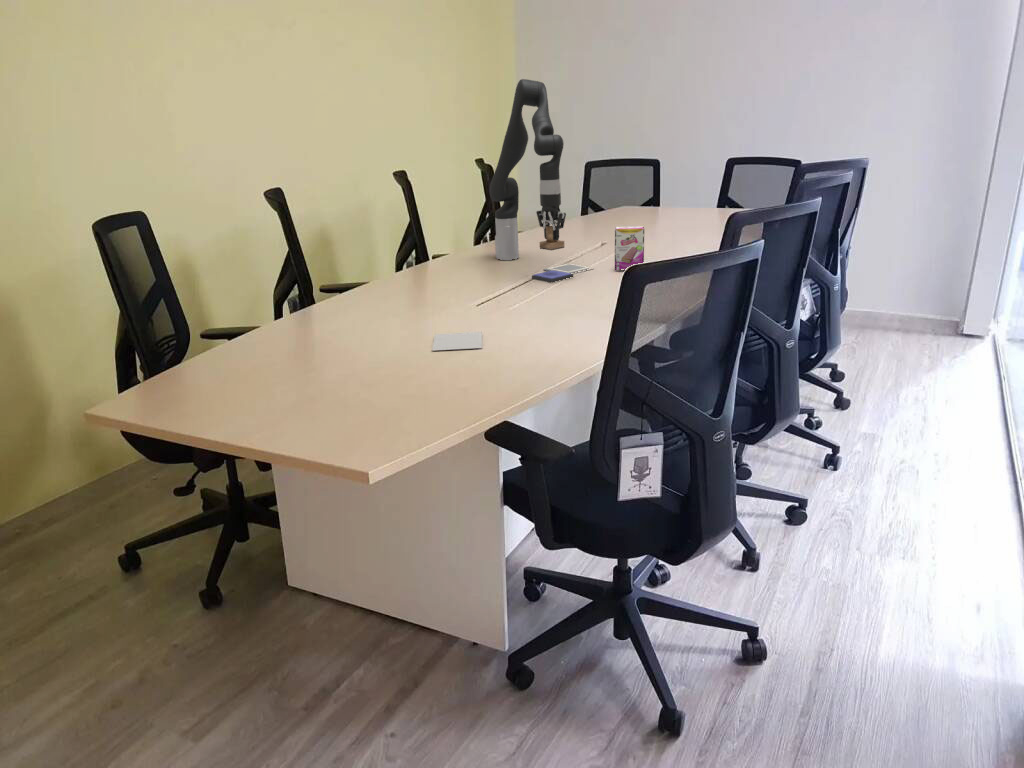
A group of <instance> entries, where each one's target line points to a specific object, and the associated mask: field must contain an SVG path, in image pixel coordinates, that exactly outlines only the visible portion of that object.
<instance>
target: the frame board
mask: <svg viewBox="0 0 1024 768" xmlns="http://www.w3.org/2000/svg"><path fill="white" fill-rule="evenodd" d="M575 264H576V263H575ZM575 264H574V263H570V262H569V263H564V264H560V265H554V266H551V267H550V266H549V267H547V268H543V269H542V271H543V270H546V271H545V272H548V271H552V270H555V271H560V272H565V273H575V272H578V271H583V270H587V269H589V268H590V267H591V266H588V267H586V265H582V264H581V265H580V264H576V265H575Z"/></svg>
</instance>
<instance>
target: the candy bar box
mask: <svg viewBox="0 0 1024 768" xmlns="http://www.w3.org/2000/svg"><path fill="white" fill-rule="evenodd" d="M644 260H645V226H642V225H641V226H615V227H614V271H615V270H621V269H624V270H625V269H626V268H627V267H629V266H631V265H633V264H638V263H643V262H644V263H645V261H644ZM624 270H623V271H622V272H625V271H624Z"/></svg>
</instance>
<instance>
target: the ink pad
mask: <svg viewBox="0 0 1024 768" xmlns="http://www.w3.org/2000/svg"><path fill="white" fill-rule="evenodd" d="M570 277H573V278H574V274H571V273H565V272H560V271H555V270H552V271H544V272H539V273H535V274H533V275H531V279H533V280H537V281H541V282H546V281H547V283H551V282H552V283H556V282H555V281H557V282H560V281H559V280H561V281H564V280H563V279H565V280H567V279H566V278H569V279H571V278H570Z"/></svg>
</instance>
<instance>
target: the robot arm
mask: <svg viewBox="0 0 1024 768" xmlns="http://www.w3.org/2000/svg"><path fill="white" fill-rule="evenodd" d="M524 106H528V107H534V108H535V107H537V109H536V110H535V112H534V113H533V115H532V118H531V125H532V129H533V134H534V141H533V150H534V153H535V154H537V156H540V157H546V156H552V158H551V159H550V160H549V161H546V162H545V161H544V162H542V163H540V165H539V204H540V206H541V210H536V212H535V213H536V216H537V220H538V223H539V224H538V225H539V227H541V228H543V233H544V235H543V236H544V239H545V240H546V226H553V240H559V239H560V229H564V226H565V221H566V216H567V214H566V212H562V211H561V209H560V206H561V204H562V198H561V197H562V196H561V194H562V192H561V191H562V190H561V189H562V188H561V181H560V178H561V177H560V165H561V164H560V162H561V160H562V159H561V158H562V154H563V150H564V139H563V137H562V136H561V135H560V134H554V133H555V130H554V129H555V128H554V126H553V123H552V120H551V116H550V110H549V100H548V93H547V87H546V85H545V84H544V82H542V81H540V80H539V81H538V80H531V79H527V78H526V79H525V78H522V79H520V80H519V81H518V82H517V84H516V87H515V92H514V97H513V103H512V107H511V112H510V113H511V114H510V117H509V121H508V126H507V129H506V132H505V135H504V139H503V143H502V145H501V146H502V147H501V151H500V154H499V155H500V156H499V159H498V162H497V165H496V168H495V170H494V173H493V176H492V178H491V181H490V185H489V196H490V199H491V200H492V201H493V202H499V203H500V202H501V203H502V202H503V204H502V205H501V206H500V207H499V208H498V209H496V210H495V212H494V217H495V218H494V220H495V222H494V223H495V236H494V246H495V247H494V248H495V259H497V260H498V259H500V260H499V261H513V260H512V259H515V260H518V259H519V258H520V253H519V252H520V250H519V248H520V247H519V226H518V225H519V224H518V212H519V200H520V199H519V196H520V195H519V193H520V192H519V191H520V190H519V186H518V182H517V180H516V179H515V178H514V177H509V176H510V174H511V172H512V170H513V169H514V168H515V167H516V166H517V164H518V163H519V162H520V161H521V160H522V158H524V157H523V156H525V153H526V149H527V146H528V142H529V134H528V131H527V127H526V124H525V122H524V117H523V107H524ZM517 258H518V259H517Z"/></svg>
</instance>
